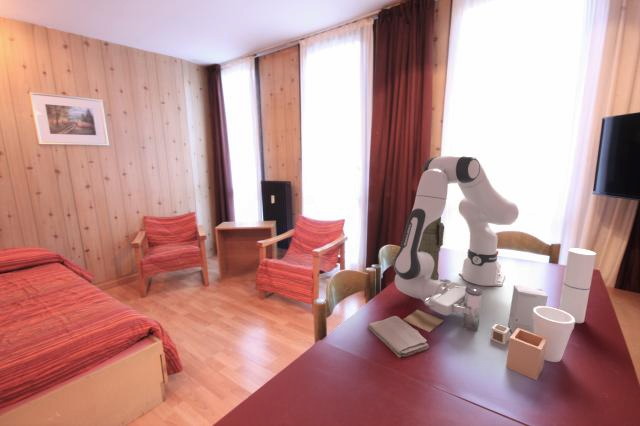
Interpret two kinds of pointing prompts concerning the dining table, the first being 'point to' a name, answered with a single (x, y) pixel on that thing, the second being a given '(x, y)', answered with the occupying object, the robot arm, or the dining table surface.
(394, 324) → the washcloth
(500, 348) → the dining table surface
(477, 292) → the tin canister
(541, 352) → the terracotta planter
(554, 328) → the foam cup
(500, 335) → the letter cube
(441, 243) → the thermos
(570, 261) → the cylindrical container
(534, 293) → the skincare box
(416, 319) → the cork coaster
